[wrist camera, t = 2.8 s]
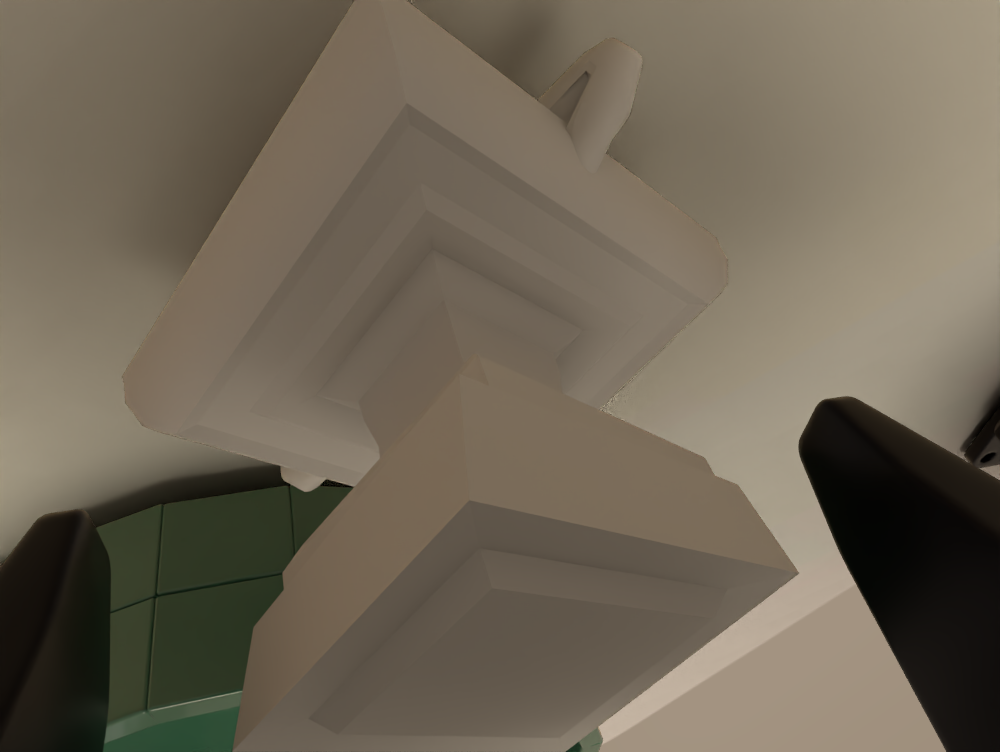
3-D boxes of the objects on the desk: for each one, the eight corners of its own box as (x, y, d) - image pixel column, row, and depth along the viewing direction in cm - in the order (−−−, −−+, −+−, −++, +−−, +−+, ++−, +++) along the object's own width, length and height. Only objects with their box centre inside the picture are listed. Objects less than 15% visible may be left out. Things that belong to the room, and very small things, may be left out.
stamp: (416, 435, 17) (516, 848, 11) (107, 330, 13) (7, 880, 7) (705, 109, 13) (1093, 473, 7) (392, -174, 9) (676, 115, 3)
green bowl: (578, 420, 18) (662, 602, 15) (518, 708, 29) (558, 851, 26) (-218, 534, 14) (-364, 818, 11) (59, 816, 25) (32, 1001, 22)
